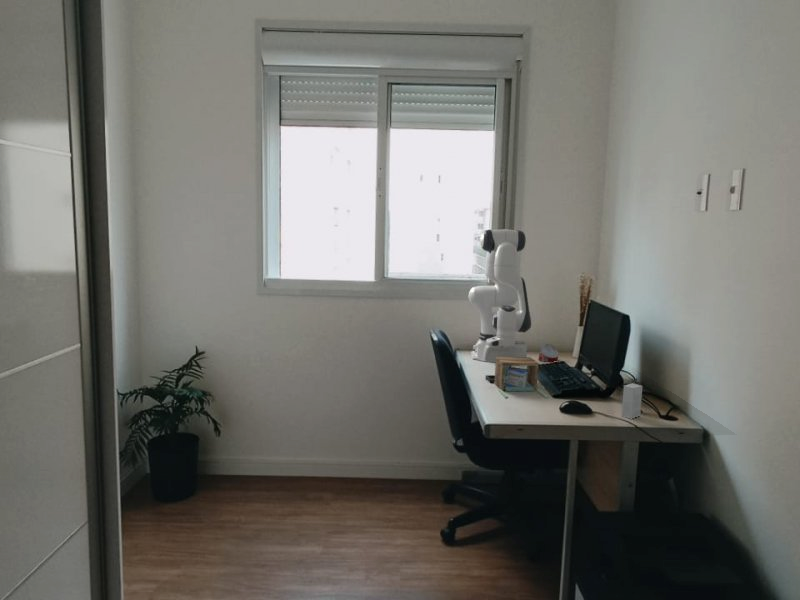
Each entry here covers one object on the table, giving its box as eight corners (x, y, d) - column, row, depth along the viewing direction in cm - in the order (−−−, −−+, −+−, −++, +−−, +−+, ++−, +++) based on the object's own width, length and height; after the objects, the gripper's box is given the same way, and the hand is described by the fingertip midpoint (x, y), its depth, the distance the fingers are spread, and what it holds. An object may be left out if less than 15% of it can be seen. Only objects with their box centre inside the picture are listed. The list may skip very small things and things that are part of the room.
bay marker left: (498, 390, 231) (498, 389, 230) (501, 390, 231) (501, 389, 231) (505, 398, 221) (505, 396, 221) (508, 398, 221) (508, 396, 221)
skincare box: (629, 413, 206) (632, 382, 205) (640, 416, 203) (643, 385, 201) (620, 416, 203) (623, 385, 201) (631, 419, 199) (634, 388, 198)
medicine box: (506, 387, 234) (507, 368, 233) (509, 385, 238) (510, 366, 237) (524, 390, 231) (525, 371, 230) (527, 388, 235) (528, 368, 234)
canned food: (554, 368, 291) (564, 352, 289) (550, 370, 282) (561, 354, 280) (536, 356, 295) (546, 340, 293) (532, 357, 286) (542, 342, 284)
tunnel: (494, 384, 241) (495, 357, 239) (528, 383, 242) (530, 357, 241) (501, 390, 231) (502, 362, 229) (536, 390, 233) (538, 362, 231)
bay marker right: (536, 390, 233) (536, 389, 232) (539, 390, 233) (539, 389, 233) (545, 397, 223) (545, 396, 223) (548, 397, 223) (548, 396, 223)
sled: (491, 377, 251) (492, 364, 250) (517, 377, 253) (517, 364, 252) (506, 390, 230) (506, 377, 229) (533, 390, 231) (534, 377, 231)
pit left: (485, 378, 249) (485, 375, 249) (496, 378, 250) (496, 375, 250) (489, 382, 242) (489, 379, 242) (500, 382, 243) (500, 379, 243)
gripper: (525, 339, 255) (523, 368, 257) (482, 339, 252) (481, 368, 254) (529, 342, 249) (528, 372, 250) (486, 342, 246) (484, 372, 248)
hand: (504, 370), depth 252 cm, fingers closed
